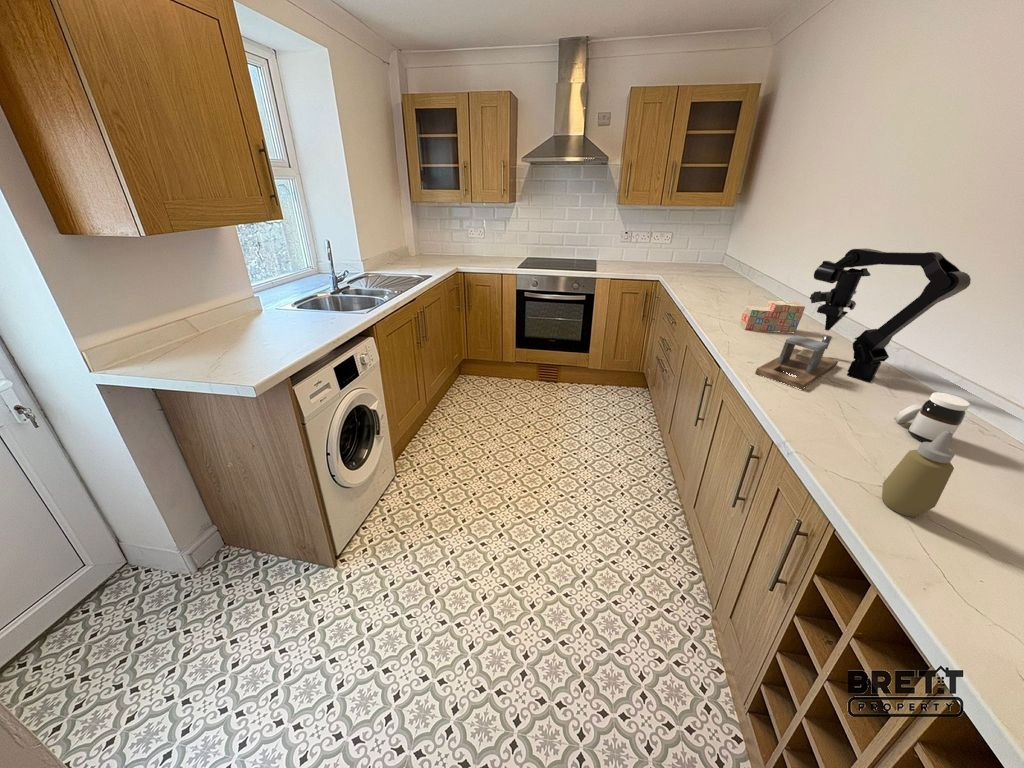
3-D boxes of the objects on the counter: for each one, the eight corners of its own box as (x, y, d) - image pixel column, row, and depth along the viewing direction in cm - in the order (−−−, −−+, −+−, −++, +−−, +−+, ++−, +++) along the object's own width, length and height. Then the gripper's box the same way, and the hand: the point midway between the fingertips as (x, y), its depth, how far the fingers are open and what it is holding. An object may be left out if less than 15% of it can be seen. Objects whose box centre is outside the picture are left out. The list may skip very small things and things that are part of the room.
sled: (832, 352, 150) (839, 338, 147) (814, 364, 139) (821, 348, 137) (813, 347, 154) (819, 333, 151) (795, 357, 144) (801, 342, 141)
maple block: (815, 360, 143) (820, 350, 141) (811, 362, 141) (816, 352, 139) (803, 356, 146) (807, 346, 144) (799, 359, 143) (803, 348, 142)
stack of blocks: (744, 330, 176) (753, 302, 170) (738, 325, 181) (747, 298, 176) (795, 333, 175) (806, 306, 169) (787, 328, 180) (797, 302, 175)
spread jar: (943, 452, 99) (970, 411, 94) (885, 431, 107) (907, 392, 101) (950, 435, 106) (975, 397, 100) (895, 416, 113) (916, 380, 108)
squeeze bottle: (901, 492, 85) (947, 420, 76) (938, 522, 78) (993, 446, 69) (864, 492, 84) (906, 419, 76) (898, 522, 77) (949, 445, 69)
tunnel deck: (835, 366, 144) (849, 337, 139) (801, 390, 126) (814, 358, 121) (793, 353, 154) (804, 325, 148) (754, 373, 135) (765, 343, 130)
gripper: (828, 278, 148) (811, 319, 155) (809, 284, 138) (792, 328, 145) (864, 285, 140) (845, 328, 148) (847, 292, 130) (827, 337, 137)
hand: (826, 330), depth 145 cm, fingers closed
